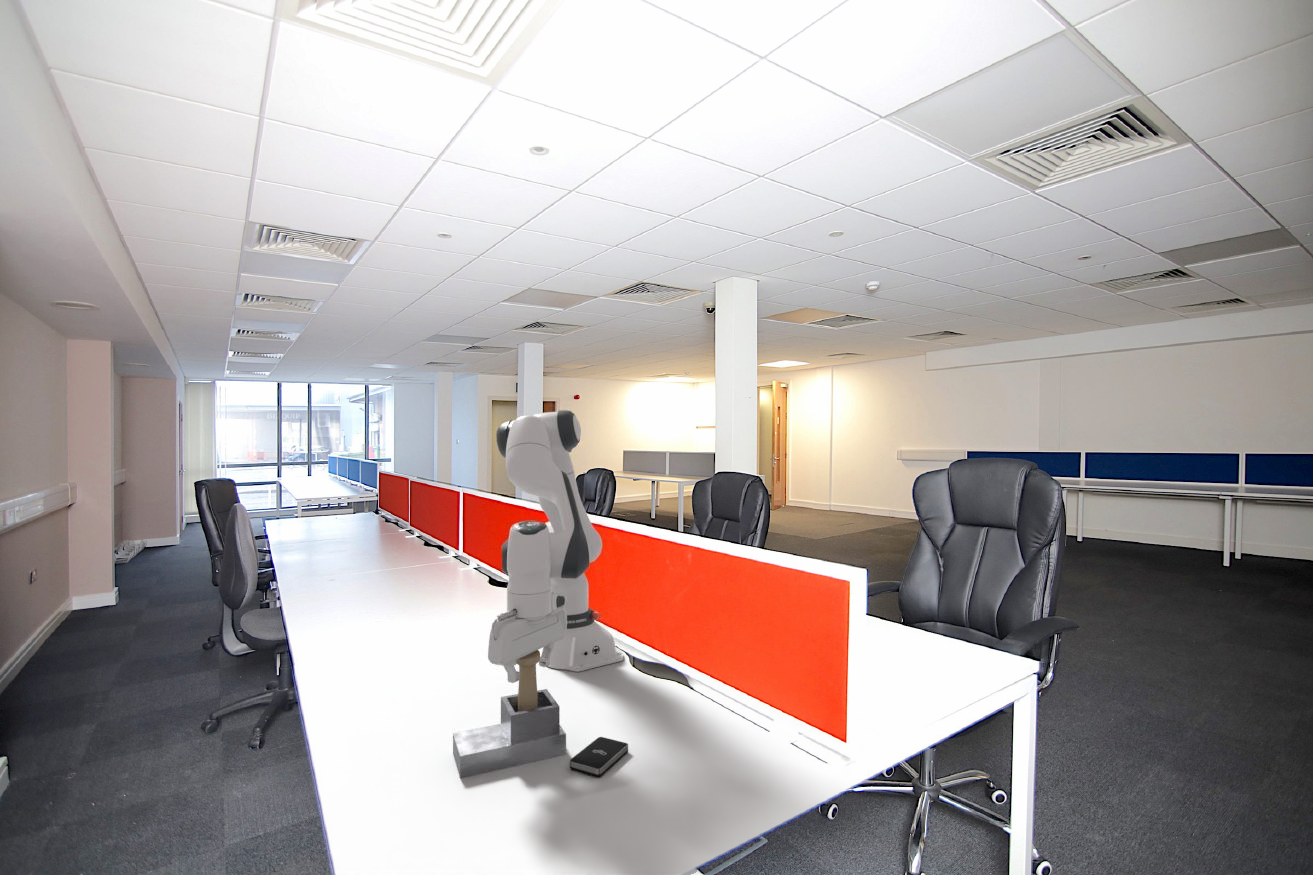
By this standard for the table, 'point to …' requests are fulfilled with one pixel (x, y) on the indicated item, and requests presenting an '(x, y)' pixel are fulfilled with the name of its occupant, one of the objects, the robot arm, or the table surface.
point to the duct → (511, 738)
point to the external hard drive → (598, 757)
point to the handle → (528, 681)
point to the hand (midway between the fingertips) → (529, 673)
